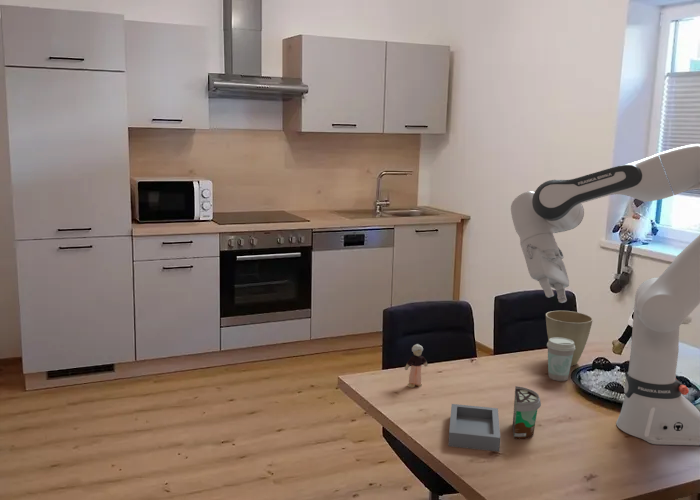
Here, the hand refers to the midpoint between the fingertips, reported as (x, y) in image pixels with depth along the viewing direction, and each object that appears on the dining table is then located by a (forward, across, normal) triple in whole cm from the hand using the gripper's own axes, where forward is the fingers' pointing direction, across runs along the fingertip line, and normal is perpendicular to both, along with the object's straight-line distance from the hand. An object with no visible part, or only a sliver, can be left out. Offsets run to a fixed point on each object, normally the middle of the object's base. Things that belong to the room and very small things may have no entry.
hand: (557, 299), depth 174 cm
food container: (+30, +1, +19) cm, 35 cm away
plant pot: (+6, +58, +21) cm, 62 cm away
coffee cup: (+12, +43, +20) cm, 49 cm away
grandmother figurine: (+7, +9, +51) cm, 52 cm away
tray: (+27, -8, +28) cm, 40 cm away
